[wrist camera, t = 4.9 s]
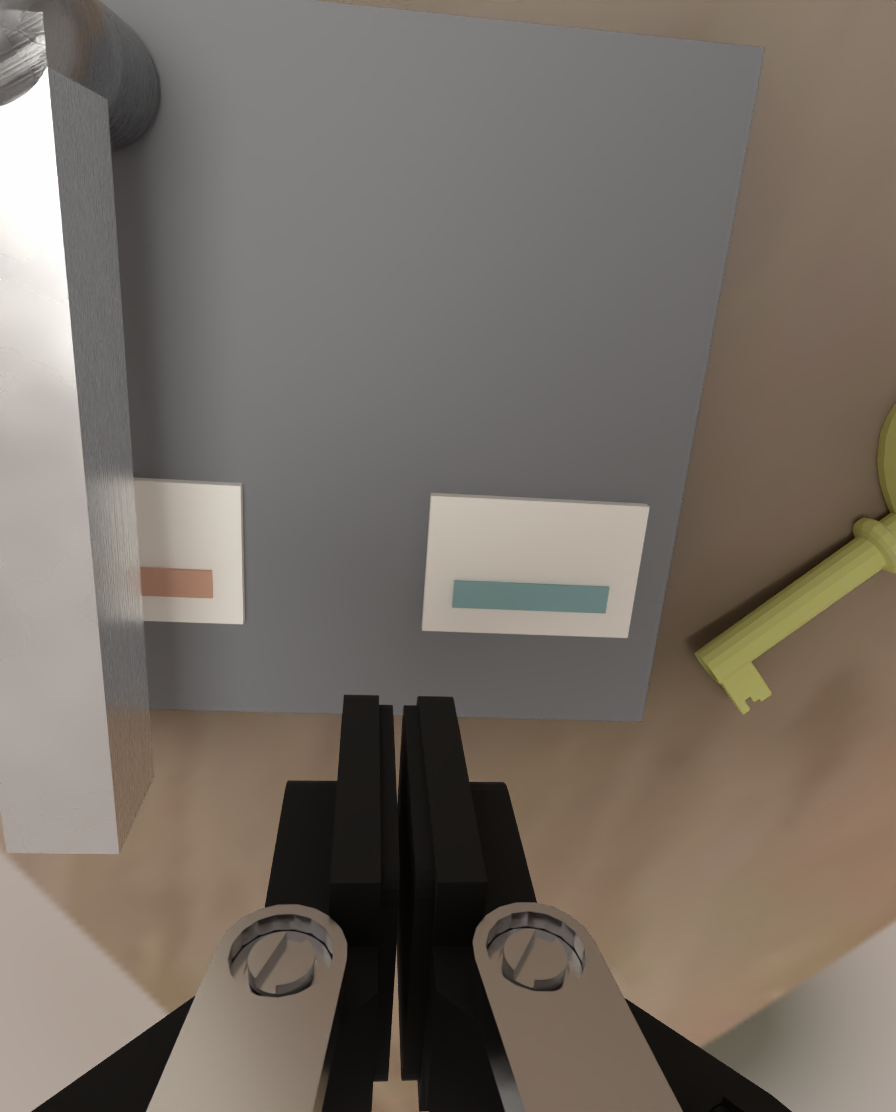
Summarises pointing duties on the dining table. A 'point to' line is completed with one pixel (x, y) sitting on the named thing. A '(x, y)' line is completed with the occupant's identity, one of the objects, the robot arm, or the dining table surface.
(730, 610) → the dining table surface
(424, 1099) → the robot arm
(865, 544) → the key
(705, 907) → the dining table surface
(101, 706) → the swing arm
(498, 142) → the label panel
